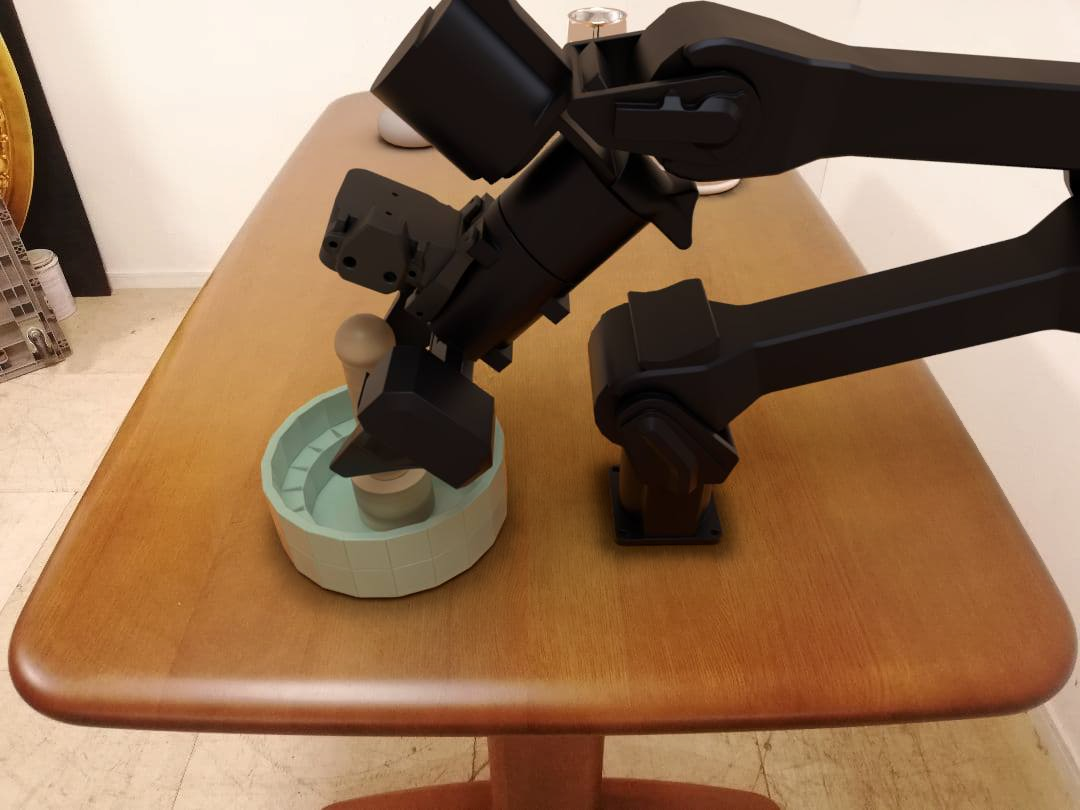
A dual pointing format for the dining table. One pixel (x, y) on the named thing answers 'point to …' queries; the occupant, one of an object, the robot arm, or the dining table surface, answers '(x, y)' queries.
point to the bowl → (337, 529)
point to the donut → (398, 131)
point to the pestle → (359, 349)
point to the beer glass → (595, 23)
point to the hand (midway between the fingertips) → (352, 414)
